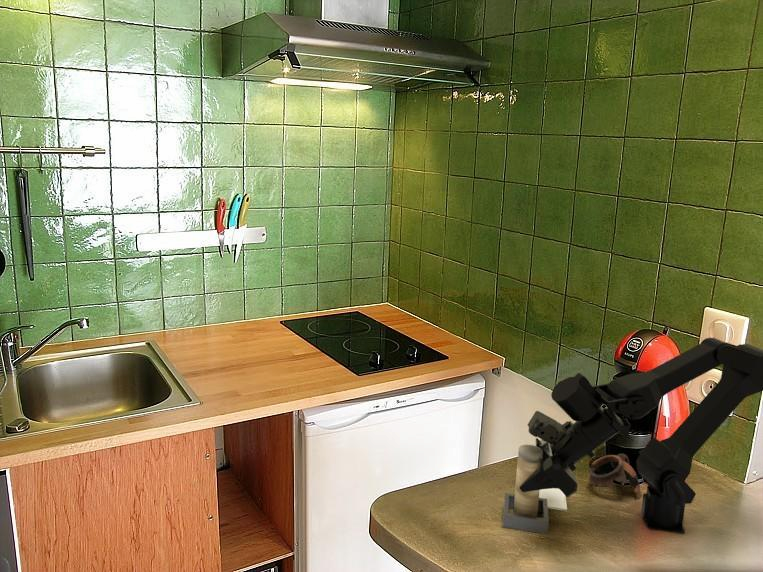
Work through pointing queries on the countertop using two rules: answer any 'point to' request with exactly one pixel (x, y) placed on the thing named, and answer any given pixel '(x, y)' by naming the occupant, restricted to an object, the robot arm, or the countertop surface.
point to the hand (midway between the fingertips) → (520, 483)
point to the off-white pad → (554, 498)
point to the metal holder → (525, 517)
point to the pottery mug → (615, 473)
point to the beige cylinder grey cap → (525, 467)
